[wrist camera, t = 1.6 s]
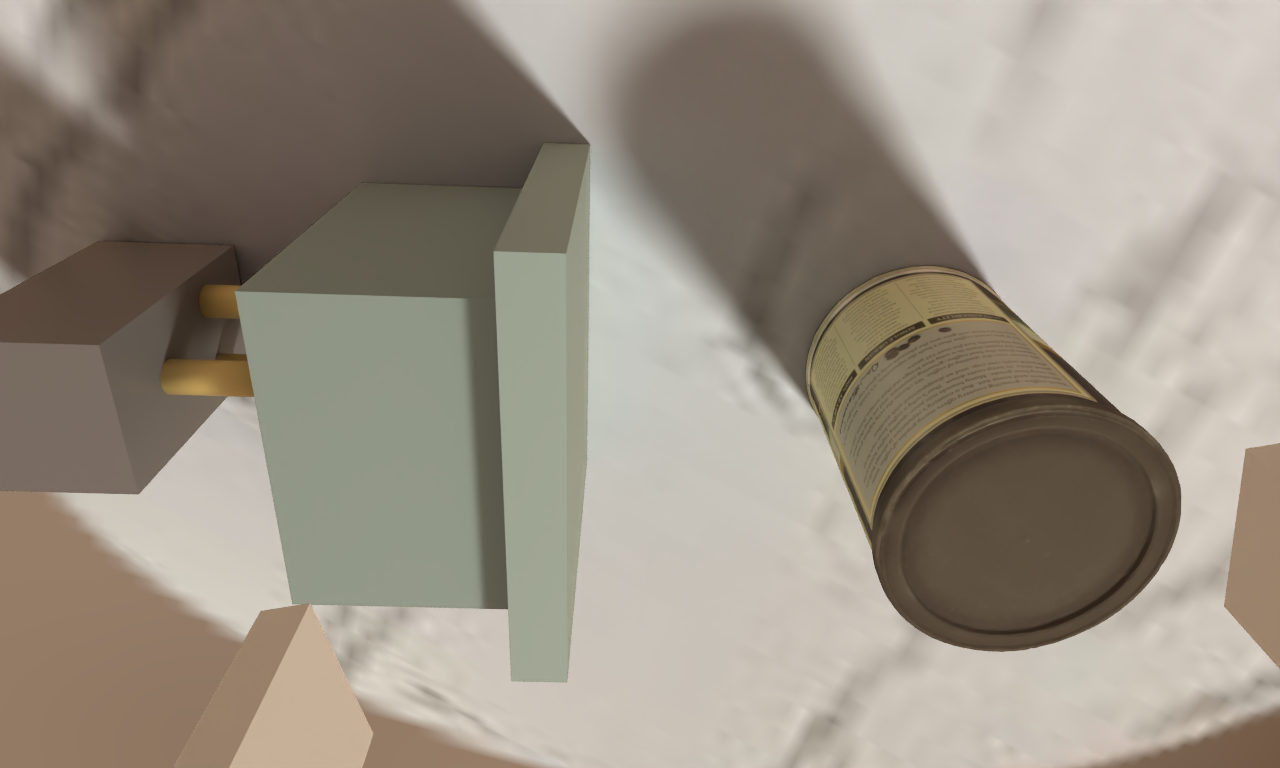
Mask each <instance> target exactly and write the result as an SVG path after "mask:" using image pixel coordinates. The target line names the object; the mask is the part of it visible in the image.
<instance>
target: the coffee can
mask: <svg viewBox="0 0 1280 768" xmlns="http://www.w3.org/2000/svg"><path fill="white" fill-rule="evenodd" d="M806 384H807V391H808V396H809V399H810V402H811V405H812V407H813V409H814V410H815V412H816V414H817V416H818V417H819V419H820V422H821V424H822V427H823V429H824V432H825V434H826V437H827V439H828V442H829V444H830V447H831V449H832V452H833V454H834V457H835V459H836V462H837V464H838V467H839V470H840V472H841V475H842V477H843V480H844V482H845V485H846V487H847V489H848V492H849V494H850V497H851V499H852V502H853V504H854V507H855V509H856V512H857V514H858V517H859V519H860V522H861V524H862V527H863V529H864V532H865V534H866V537H867V539H868V542H869V544H870V547H871V549H872V554H873V560H874V565H875V569H876V571H877V574H878V577H879V580H880V583H881V585H882V588H883V590H884V592H885V594H886V596H887V597H888V599H889V601H890V602H891V603H892V605H893V606H894V608H895V609H896V610H897V611H898V612H899V614H900V615H901V616H902V617H903V618H904V619H905V620H906V621H908V622H909V623H910V624H911V625H913V626H914V627H915V628H917V629H918V630H920V631H921V632H923V633H925V634H926V635H928V636H930V637H932V638H934V639H937V640H939V641H942V642H944V643H948V644H951V645H954V646H959V647H963V648H969V649H974V650H982V651H999V652H1004V651H1018V650H1026V649H1030V648H1036V647H1040V646H1044V645H1048V644H1052V643H1056V642H1058V641H1061V640H1064V639H1067V638H1069V637H1072V636H1075V635H1077V634H1079V633H1081V632H1084V631H1086V630H1088V629H1090V628H1092V627H1094V626H1096V625H1098V624H1100V623H1101V622H1103V621H1105V620H1107V619H1108V618H1110V617H1111V616H1112V615H1114V614H1115V613H1117V612H1118V611H1120V610H1121V609H1122V608H1123V607H1124V606H1126V605H1127V604H1128V603H1129V602H1130V601H1132V600H1133V599H1134V598H1135V597H1136V596H1137V595H1138V594H1139V593H1140V592H1141V591H1142V590H1143V589H1144V588H1145V587H1146V585H1147V584H1148V583H1149V582H1150V581H1151V580H1152V578H1153V577H1154V576H1155V575H1156V573H1157V572H1158V570H1159V569H1160V567H1161V565H1162V564H1163V563H1164V561H1165V559H1166V558H1167V556H1168V554H1169V552H1170V550H1171V548H1172V545H1173V542H1174V540H1175V537H1176V534H1177V531H1178V527H1179V522H1180V516H1181V488H1180V484H1179V480H1178V477H1177V473H1176V471H1175V468H1174V465H1173V464H1172V462H1171V460H1170V458H1169V456H1168V455H1167V453H1166V452H1165V451H1164V449H1163V448H1162V446H1161V445H1160V444H1159V443H1158V442H1157V441H1156V440H1155V439H1154V438H1153V437H1152V436H1151V435H1150V434H1149V433H1148V432H1147V431H1146V430H1145V429H1144V428H1143V427H1141V426H1140V425H1139V424H1138V423H1136V422H1135V421H1134V420H1132V419H1131V418H1129V417H1127V416H1126V415H1124V414H1122V413H1121V412H1120V411H1119V410H1118V409H1117V408H1116V407H1115V406H1114V405H1113V404H1111V403H1110V402H1109V401H1108V400H1107V399H1106V398H1105V397H1104V396H1103V395H1102V394H1100V393H1099V392H1098V391H1097V390H1096V389H1095V388H1094V387H1093V386H1092V385H1091V384H1090V383H1089V382H1088V381H1087V380H1086V379H1085V378H1083V377H1082V376H1081V375H1080V374H1079V373H1078V372H1077V371H1076V370H1075V369H1074V368H1073V367H1072V366H1071V365H1069V364H1068V363H1067V362H1066V361H1065V360H1064V359H1063V358H1062V357H1060V356H1059V355H1058V354H1057V353H1056V352H1055V351H1054V350H1053V349H1052V348H1051V347H1050V346H1049V345H1048V344H1047V343H1046V342H1044V341H1043V340H1042V339H1041V338H1040V337H1039V336H1038V335H1037V334H1036V333H1035V332H1034V331H1033V330H1032V329H1031V328H1030V327H1029V326H1028V325H1027V324H1026V323H1024V322H1023V321H1022V320H1021V319H1020V318H1019V317H1018V316H1017V315H1016V314H1015V313H1014V312H1013V311H1012V310H1011V309H1009V308H1008V307H1007V306H1006V305H1005V304H1004V302H1003V301H1002V300H1001V299H1000V298H999V296H998V295H997V294H996V293H995V292H994V291H993V290H992V289H990V288H989V287H988V286H987V285H985V284H984V283H982V282H981V281H979V280H978V279H976V278H974V277H972V276H970V275H968V274H966V273H964V272H961V271H958V270H955V269H950V268H944V267H937V266H916V267H908V268H903V269H899V270H894V271H891V272H888V273H884V274H881V275H878V276H876V277H874V278H872V279H870V280H869V281H867V282H865V283H864V284H862V285H860V286H858V287H857V288H855V289H854V290H852V291H851V292H850V293H848V294H847V295H846V296H845V297H844V298H843V299H842V300H840V301H839V302H838V303H837V304H836V305H835V307H834V308H833V309H832V310H831V311H830V312H829V314H828V315H827V316H826V318H825V319H824V321H823V322H822V324H821V326H820V327H819V329H818V331H817V332H816V334H815V335H814V338H813V341H812V345H811V348H810V350H809V354H808V359H807V365H806Z"/></svg>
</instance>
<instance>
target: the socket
mask: <svg viewBox="0 0 1280 768" xmlns="http://www.w3.org/2000/svg"><path fill="white" fill-rule="evenodd" d="M589 209H590V144H567V143H543V145H542V147H541V149H540V152H539V154H538V156H537V158H536V160H535V162H534V165H533V167H532V169H531V171H530V173H529V175H528V178H527V180H526V182H525V184H524V186H523V188H502V187H473V186H444V185H414V184H385V183H360V184H359V185H358V186H357V187H356V188H355V189H353V190H352V191H351V192H350V193H349V194H348V195H346V196H345V197H344V198H343V199H342V200H341V201H339V202H338V203H337V204H336V205H335V206H334V207H333V208H331V209H330V210H329V211H328V212H327V213H326V214H324V215H323V216H322V217H321V218H320V219H319V220H317V221H316V222H315V223H314V224H313V225H312V226H310V227H309V228H308V229H307V230H306V231H305V232H303V233H302V234H301V235H300V236H299V237H298V238H296V239H295V240H294V241H293V242H292V243H291V244H289V245H288V246H287V247H286V248H285V249H284V250H282V251H281V252H280V253H279V254H278V255H277V256H275V257H274V258H273V259H272V260H271V261H270V262H268V263H267V264H266V265H265V266H264V267H263V268H261V269H260V270H259V271H258V272H257V273H256V274H255V275H253V276H252V277H251V278H250V279H249V280H248V281H246V282H245V283H244V284H243V285H242V286H241V287H239V288H238V289H237V290H236V291H235V295H236V300H237V306H238V311H239V316H240V322H241V327H242V333H243V338H244V344H245V349H246V354H247V360H248V365H249V371H250V376H251V382H252V387H253V392H254V398H255V403H256V409H257V414H258V420H259V425H260V430H261V436H262V441H263V447H264V452H265V458H266V463H267V468H268V474H269V479H270V485H271V490H272V496H273V501H274V506H275V512H276V517H277V523H278V528H279V534H280V539H281V544H282V550H283V555H284V561H285V566H286V572H287V577H288V582H289V588H290V593H291V599H292V604H308V603H310V604H311V605H348V606H392V607H435V608H479V609H508V616H509V640H510V665H511V681H523V682H567V678H568V667H569V656H570V645H571V634H572V622H573V611H574V600H575V589H576V578H577V567H578V555H579V544H580V533H581V522H582V511H583V500H584V488H585V477H586V466H587V405H588V307H589Z"/></svg>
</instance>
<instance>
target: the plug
mask: <svg viewBox="0 0 1280 768" xmlns="http://www.w3.org/2000/svg"><path fill="white" fill-rule="evenodd" d="M239 287H241V284H240V278H239V273H238V267H237V262H236V256H235V250H234V245H205V244H174V243H143V242H112V241H98V242H96V243H94V244H92V245H90V246H88V247H87V248H85V249H83V250H81V251H79V252H77V253H76V254H74V255H72V256H70V257H68V258H66V259H65V260H63V261H61V262H59V263H57V264H55V265H54V266H52V267H50V268H48V269H46V270H44V271H43V272H41V273H39V274H37V275H35V276H33V277H32V278H30V279H28V280H26V281H24V282H22V283H21V284H19V285H17V286H15V287H13V288H11V289H10V290H8V291H6V292H4V293H2V294H0V491H30V492H69V493H107V494H139V493H140V492H141V491H142V490H143V489H144V488H145V487H146V486H147V485H148V483H149V482H150V481H151V480H152V479H153V478H154V477H155V476H156V475H157V474H158V472H159V471H160V470H161V469H162V468H163V467H164V466H165V465H166V464H167V463H168V461H169V460H170V459H171V458H172V457H173V456H174V455H175V454H176V453H177V452H178V450H179V449H180V448H181V447H182V446H183V445H184V444H185V443H186V442H187V441H188V439H189V438H190V437H191V436H192V435H193V434H194V433H195V432H196V431H197V429H198V428H199V427H200V426H201V425H202V424H203V423H204V422H205V421H206V420H207V418H208V417H209V416H210V415H211V414H212V413H213V412H214V411H215V410H216V409H217V407H218V406H219V405H220V404H221V403H222V402H223V401H224V400H225V399H226V398H227V396H235V397H254V392H253V387H252V382H251V376H250V371H249V365H248V360H247V354H246V349H245V344H244V338H243V333H242V327H241V322H240V316H239V311H238V306H237V300H236V295H235V291H236V290H237V289H238V288H239Z"/></svg>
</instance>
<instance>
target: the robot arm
mask: <svg viewBox="0 0 1280 768" xmlns="http://www.w3.org/2000/svg"><path fill="white" fill-rule="evenodd" d="M1224 607H1225V608H1226V609H1227V610H1228V611H1229V612H1230V613H1231V614H1232V616H1233V617H1234V618H1235V619H1236V620H1237V621H1238V622H1239V624H1240V625H1241V626H1242V627H1243V628H1244V629H1245V630H1246V631H1247V633H1248V634H1249V635H1250V636H1251V637H1252V638H1253V639H1254V640H1255V642H1256V643H1257V644H1258V645H1259V646H1260V647H1261V648H1262V649H1263V651H1264V652H1265V653H1266V654H1267V655H1268V656H1269V657H1270V658H1271V660H1272V661H1273V662H1274V663H1275V664H1276V665H1277V666H1278V667H1279V669H1280V443H1279V444H1273V445H1267V446H1261V447H1255V448H1249V449H1246V451H1245V458H1244V465H1243V473H1242V480H1241V487H1240V494H1239V502H1238V509H1237V516H1236V523H1235V531H1234V538H1233V545H1232V552H1231V560H1230V567H1229V574H1228V581H1227V589H1226V596H1225V603H1224ZM372 736H373V732H372V730H371V728H370V726H369V724H368V722H367V720H366V718H365V716H364V714H363V712H362V710H361V707H360V705H359V703H358V701H357V699H356V697H355V695H354V693H353V691H352V689H351V687H350V685H349V683H348V680H347V678H346V676H345V674H344V672H343V670H342V668H341V666H340V664H339V662H338V660H337V658H336V656H335V654H334V652H333V649H332V647H331V645H330V643H329V641H328V639H327V637H326V635H325V633H324V631H323V629H322V627H321V625H320V623H319V620H318V618H317V616H316V614H315V612H314V610H313V608H312V606H311V604H310V603H308V604H301V605H295V606H289V607H283V608H277V609H271V610H265V611H260V613H259V615H258V617H257V619H256V620H255V622H254V624H253V626H252V627H251V629H250V631H249V633H248V635H247V636H246V638H245V640H244V642H243V644H242V645H241V647H240V649H239V651H238V652H237V654H236V656H235V658H234V660H233V662H232V663H231V665H230V667H229V669H228V670H227V672H226V674H225V676H224V678H223V679H222V681H221V683H220V685H219V686H218V688H217V690H216V692H215V694H214V696H213V697H212V699H211V701H210V703H209V704H208V706H207V708H206V710H205V712H204V713H203V715H202V717H201V719H200V720H199V722H198V724H197V726H196V728H195V729H194V732H193V733H192V735H191V737H190V738H189V740H188V742H187V744H186V745H185V747H184V749H183V751H182V753H181V755H180V756H179V758H178V760H177V762H176V764H175V765H174V767H173V768H362V766H363V764H364V761H365V758H366V754H367V751H368V748H369V745H370V742H371V739H372Z"/></svg>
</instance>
